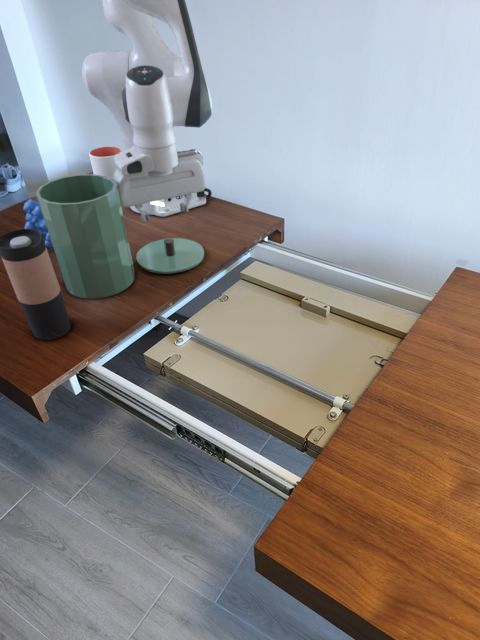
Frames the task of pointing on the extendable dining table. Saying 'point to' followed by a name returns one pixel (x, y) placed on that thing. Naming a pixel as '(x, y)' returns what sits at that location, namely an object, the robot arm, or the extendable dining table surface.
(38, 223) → the grapes
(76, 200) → the pot
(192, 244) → the lid
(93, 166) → the cup
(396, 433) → the extendable dining table surface
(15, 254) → the travel mug
